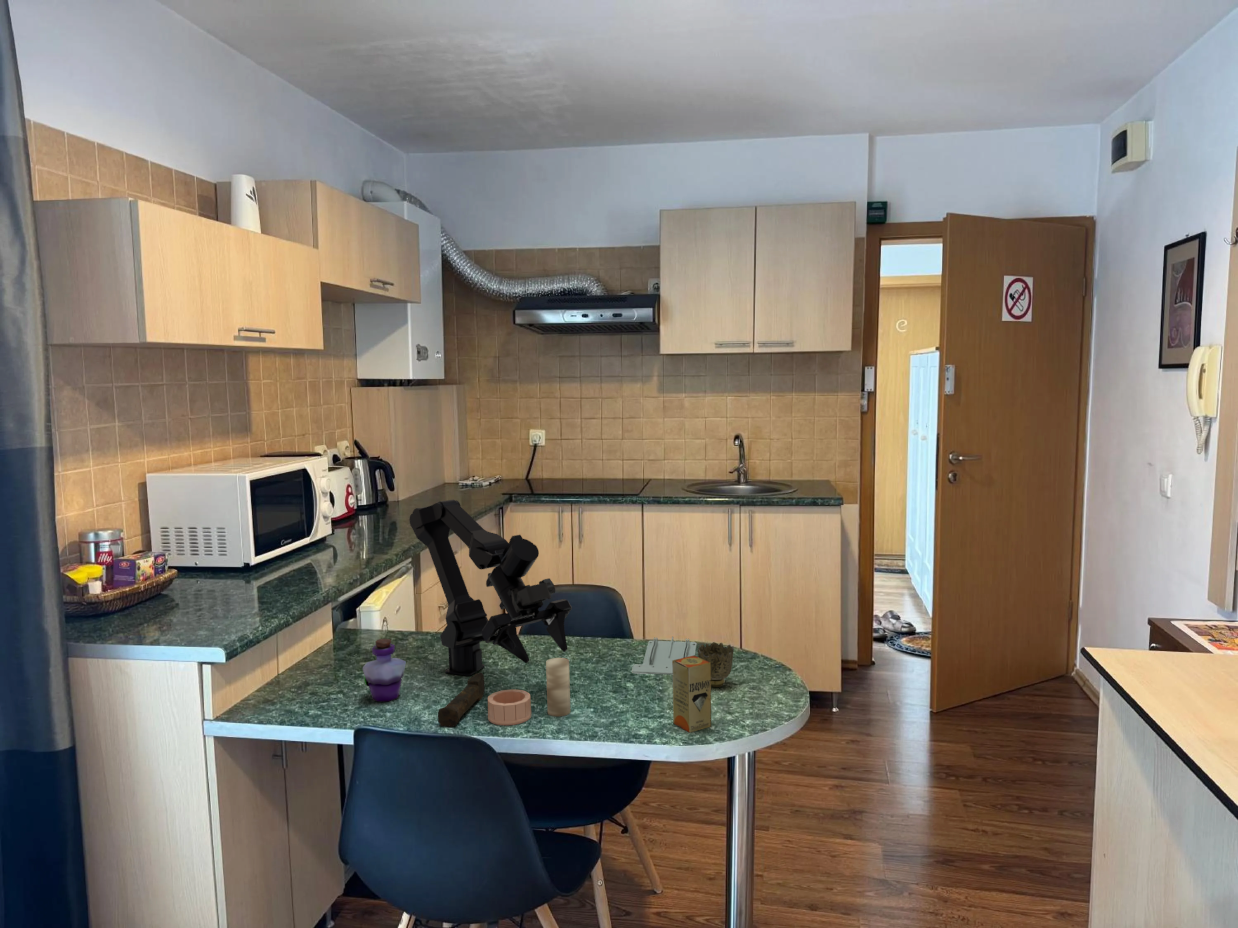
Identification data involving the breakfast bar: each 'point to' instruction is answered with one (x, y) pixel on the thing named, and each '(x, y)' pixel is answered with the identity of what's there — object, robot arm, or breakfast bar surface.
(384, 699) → the potion bottle
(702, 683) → the shoe polish box
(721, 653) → the brown speckled footed container
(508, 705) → the terracotta cup
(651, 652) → the metal bracket
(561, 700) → the birch peg
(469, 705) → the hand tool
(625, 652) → the breakfast bar surface
